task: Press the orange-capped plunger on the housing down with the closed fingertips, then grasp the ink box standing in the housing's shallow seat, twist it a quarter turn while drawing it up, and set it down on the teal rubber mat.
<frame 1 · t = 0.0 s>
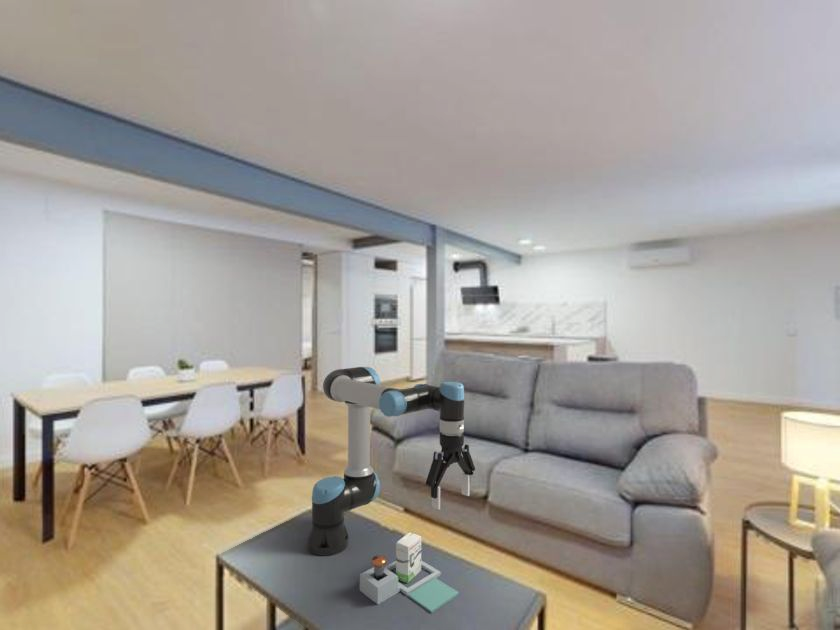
hand: (451, 501, 133), 28 cm above the table, fingers open, 13 cm apart
housing: (408, 574, 141), on the table
plunger: (378, 568, 133), point 7 cm above the table, slide at 0.0 cm
mat: (433, 595, 131), on the table
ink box: (408, 575, 141), resting in housing
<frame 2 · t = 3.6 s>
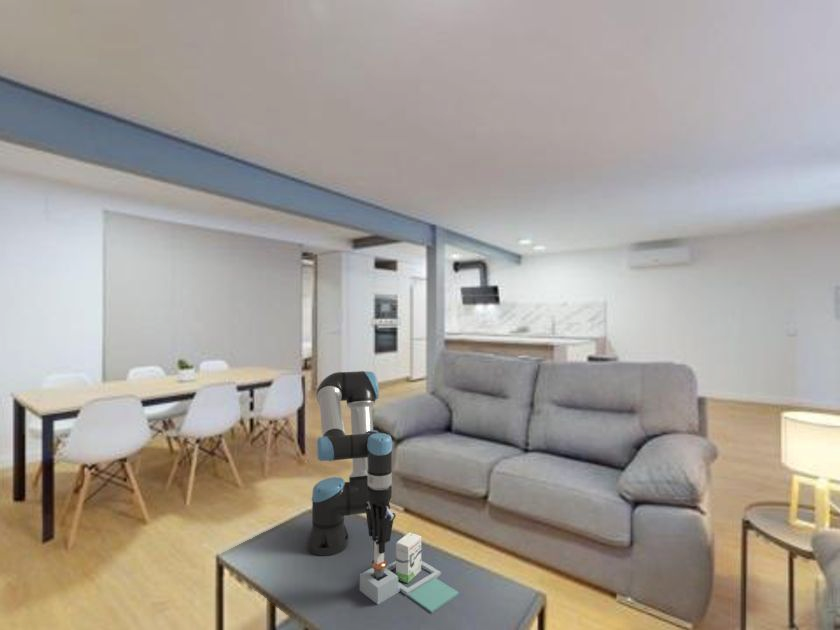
hand: (379, 561, 133), 9 cm above the table, fingers closed
plunger: (378, 572, 133), point 6 cm above the table, slide at 1.0 cm, touching gripper
everything else where it was.
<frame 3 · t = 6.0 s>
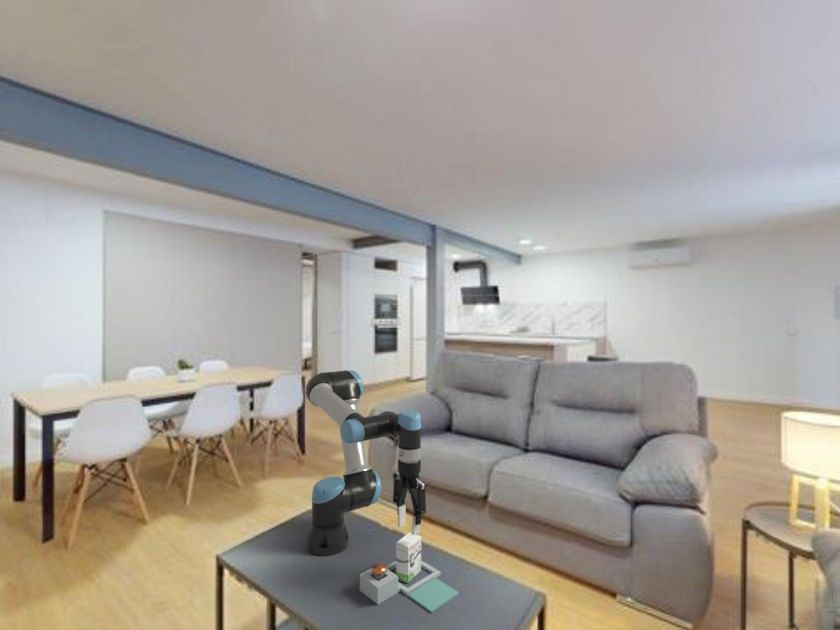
hand: (408, 529, 141), 15 cm above the table, fingers open, 6 cm apart
plunger: (378, 576, 133), point 4 cm above the table, slide at 2.5 cm
everything else where it was.
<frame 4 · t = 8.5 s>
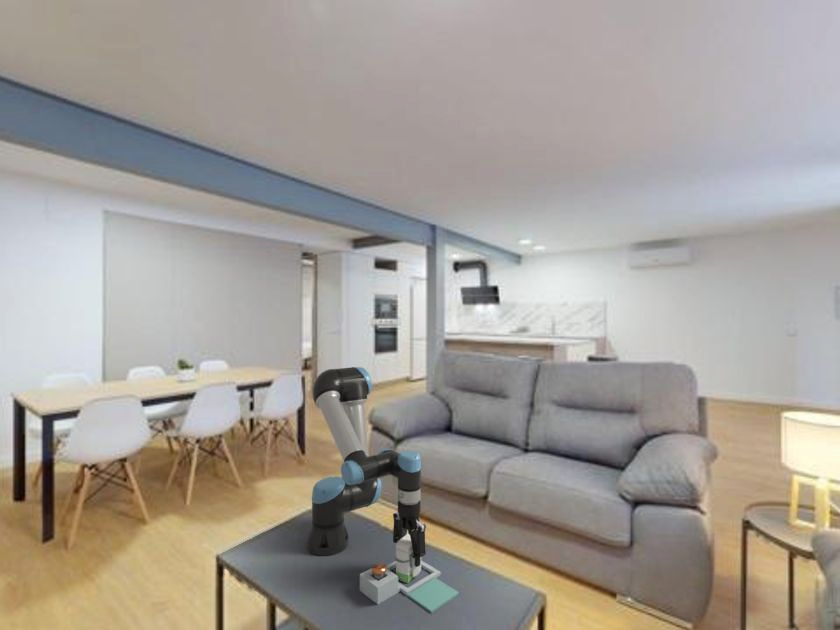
hand: (408, 570, 141), 1 cm above the table, fingers closed on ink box, 6 cm apart
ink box: (408, 575, 141), resting in housing, touching gripper
everything else where it was.
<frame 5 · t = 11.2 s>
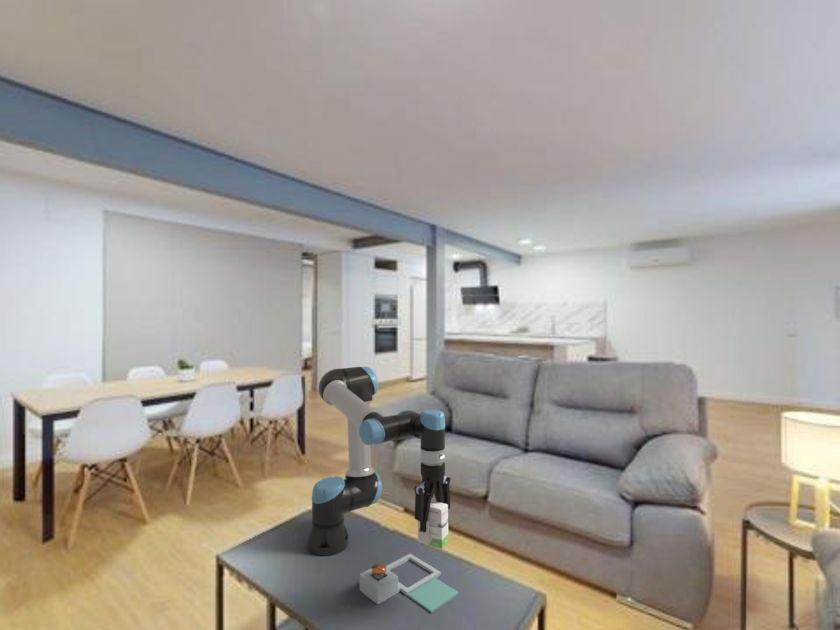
hand: (432, 537, 131), 18 cm above the table, fingers closed on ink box, 6 cm apart
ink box: (433, 542, 131), point 16 cm above the table, touching gripper
everything else where it was.
when the fingers open (3 cm above the table, at t = 14.2 s): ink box drops 1 cm, resting on mat.
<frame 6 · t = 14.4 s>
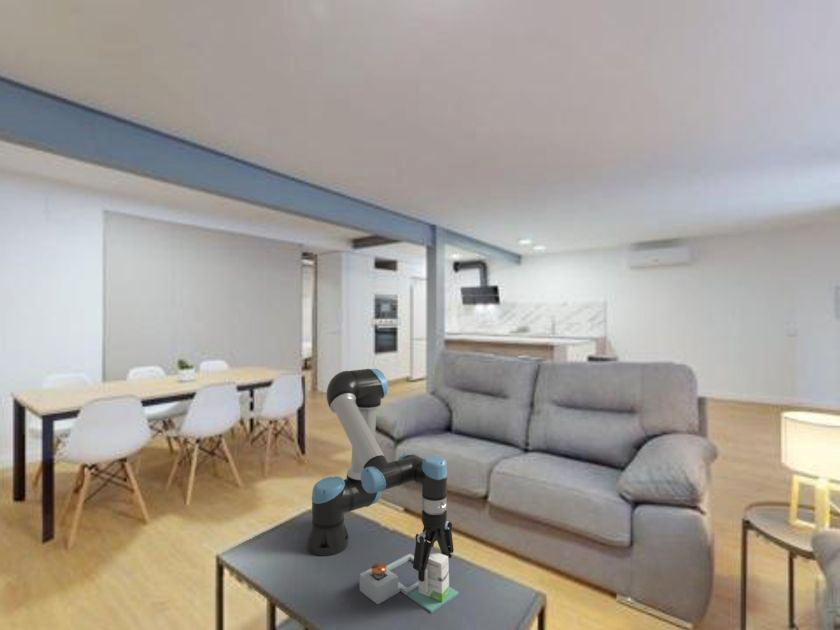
hand: (433, 583, 131), 4 cm above the table, fingers open, 8 cm apart
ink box: (433, 593, 131), resting on mat
everything else where it was.
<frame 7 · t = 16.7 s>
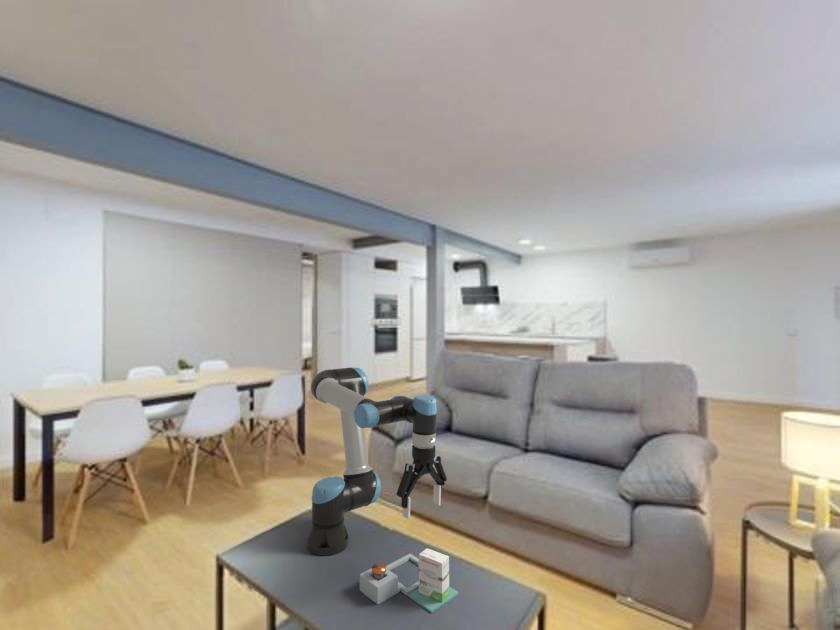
hand: (422, 510, 138), 23 cm above the table, fingers open, 13 cm apart
nothing on the table moved.
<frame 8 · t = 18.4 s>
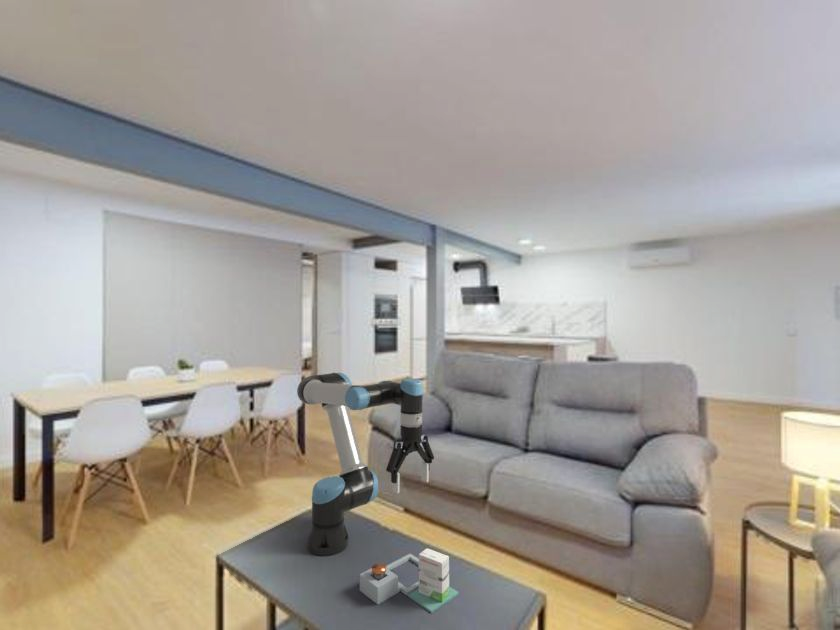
hand: (411, 486, 147), 27 cm above the table, fingers open, 13 cm apart
nothing on the table moved.
at the end: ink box inside the target area on the mat (0.1 cm from its centre), point 0.4 cm above the mat's base; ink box tilted 0°; plunger slide at 2.5 cm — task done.
